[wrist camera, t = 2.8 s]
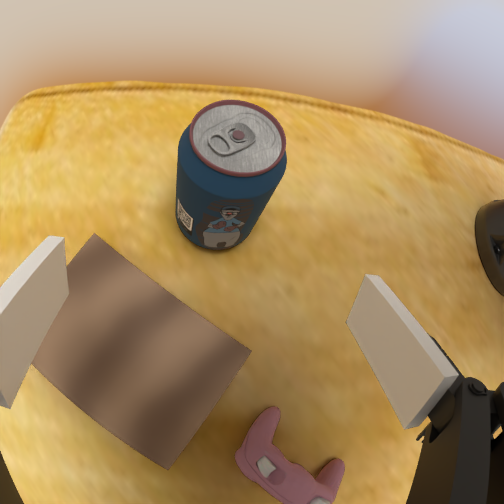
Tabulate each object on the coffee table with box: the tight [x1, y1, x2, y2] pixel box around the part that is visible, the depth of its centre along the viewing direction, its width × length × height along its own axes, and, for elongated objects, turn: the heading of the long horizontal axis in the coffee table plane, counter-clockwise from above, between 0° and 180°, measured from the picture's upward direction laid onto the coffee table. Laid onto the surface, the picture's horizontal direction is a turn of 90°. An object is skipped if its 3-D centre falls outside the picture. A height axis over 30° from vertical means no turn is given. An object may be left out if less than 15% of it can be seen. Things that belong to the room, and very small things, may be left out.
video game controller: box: [235, 406, 345, 504], centre depth 20 cm, size 10×5×7 cm, turn 46°
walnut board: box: [31, 233, 252, 470], centre depth 22 cm, size 16×12×2 cm
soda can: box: [176, 100, 287, 250], centre depth 23 cm, size 7×7×12 cm
